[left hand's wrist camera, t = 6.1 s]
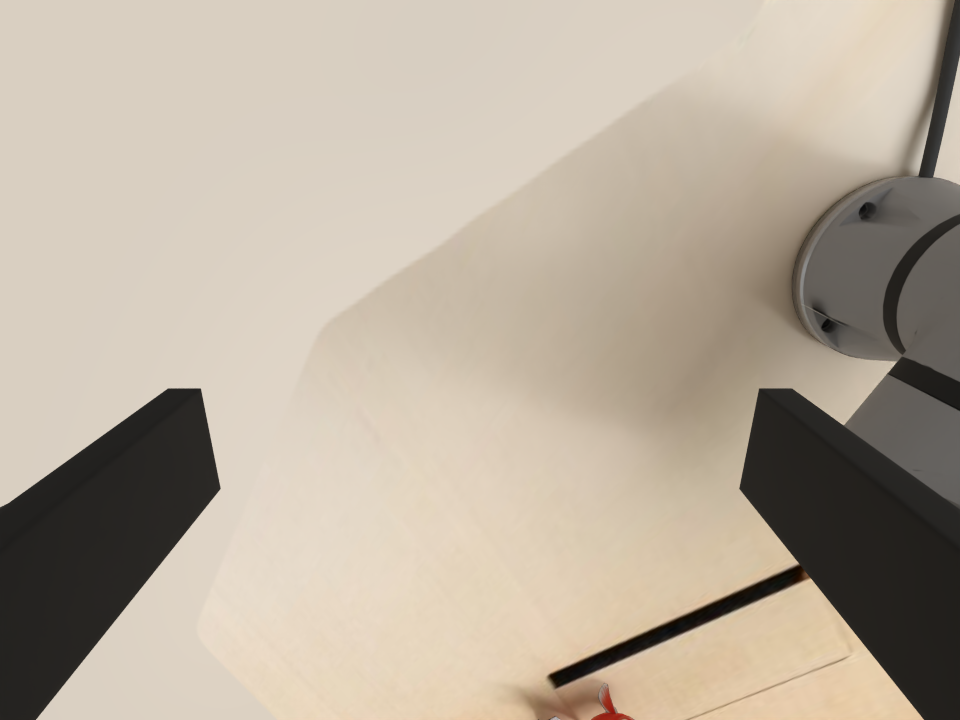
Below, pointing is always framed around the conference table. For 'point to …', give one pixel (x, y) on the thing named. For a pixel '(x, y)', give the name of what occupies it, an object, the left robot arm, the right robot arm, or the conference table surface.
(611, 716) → the fish
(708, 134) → the conference table surface
